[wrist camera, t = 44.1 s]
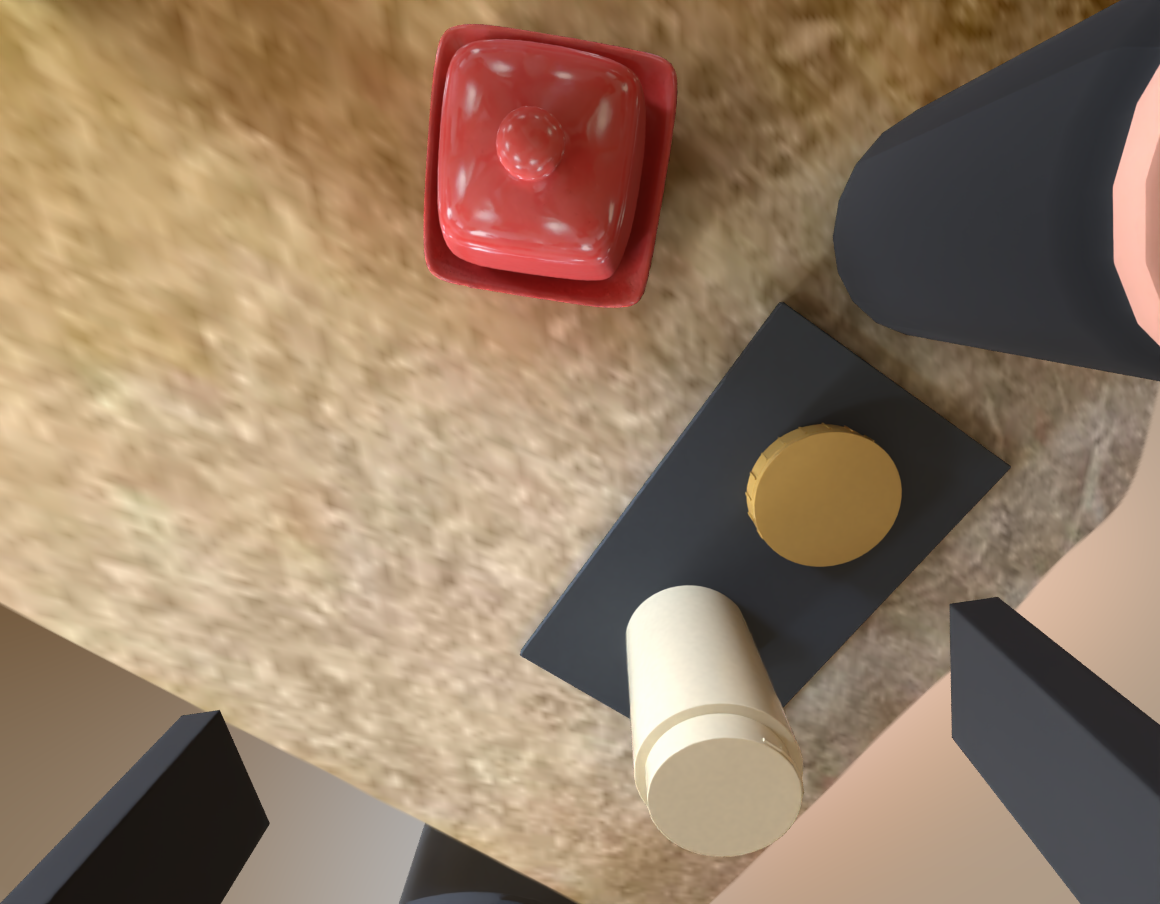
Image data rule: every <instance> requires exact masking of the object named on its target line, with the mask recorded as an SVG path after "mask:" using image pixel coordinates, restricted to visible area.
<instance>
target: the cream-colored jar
mask: <svg viewBox="0 0 1160 904" xmlns="http://www.w3.org/2000/svg"><path fill="white" fill-rule="evenodd" d="M625 643H626V659H627V675H628V691H629V706H630V722H631V738H632V754H633V769H634V779H635V784H636V787H637V791H638V793H639V795H640V797H641V799H642V800H643V802H644V803H645V805H646V806H647V807H648V810H649V813H650V816H651V818H652V820H653V822H654V824H655V825H656V827H657V828H658V830H659V831H660V832H661V833H662V834H663V835H664V836H665V837H666V838H667V839H669V840H670V841H671V842H673V843H674V844H676V845H677V846H679V847H681V848H683V849H685V850H687V851H690V852H693V853H696V854H701V855H705V856H712V857H733V856H740V855H745V854H749V853H752V852H755V851H758V850H760V849H763V848H765V847H767V846H769V845H770V844H772V843H774V842H775V841H777V840H778V839H779V838H780V837H782V836H783V835H784V834H785V833H786V832H787V831H788V830H789V829H790V827H791V826H792V825H793V823H794V822H795V820H796V818H797V816H798V814H799V811H800V808H801V803H802V797H803V794H804V789H803V782H802V775H803V759H802V754H801V750H800V748H799V745H798V743H797V740H796V738H795V736H794V733H793V731H792V728H791V726H790V724H789V721H788V719H787V717H786V714H785V712H784V709H783V707H782V705H781V702H780V700H779V698H778V695H777V693H776V690H775V688H774V686H773V683H772V681H771V679H770V676H769V674H768V671H767V669H766V667H765V664H764V662H763V660H762V657H761V655H760V652H759V650H758V648H757V645H756V643H755V641H754V638H753V636H752V633H751V631H750V629H749V626H748V624H747V622H746V619H745V617H744V615H743V613H742V612H741V610H740V609H739V608H738V606H737V605H736V604H735V603H734V602H733V601H732V600H731V599H729V598H728V597H726V596H725V595H723V594H721V593H719V592H718V591H715V590H712V589H710V588H706V587H702V586H694V585H684V586H676V587H672V588H668V589H665V590H662V591H660V592H658V593H656V594H654V595H652V596H651V597H649V598H648V599H647V600H645V601H644V602H643V603H642V604H641V605H640V606H639V607H638V608H637V609H636V611H635V612H634V614H633V615H632V617H631V619H630V621H629V623H628V626H627V630H626V639H625Z"/></svg>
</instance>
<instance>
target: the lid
mask: <svg viewBox="0 0 1160 904" xmlns="http://www.w3.org/2000/svg"><path fill="white" fill-rule="evenodd" d="M798 428H799V429H796V430H793V431H791V432H789V433H787V434H785V435H783V436H782V437H778V439H777V440H776V441H775V442H773V443H772V444H771V445H770V446H769V447H768V448H767V449H766V450H765V451H764V452H763V453H761V456H760V457H759V459H758V460H757V462H756V463H755V465H754V467H753V469H752V472H750V477H749V481H748V485H747V492H745V494H746V496H747V506H748V511H749V512H748V514H749V516H750V518H751V519H752V521H753V523H754V524H755V526H756V528H757V532H758V533H759V535H760V537H761V538H762V539H764V540H765V542H766V543H767V544H768V545H769V546H770V547H771V548H772V549H773V550H774V551H775V552H776V553H778V554H779V555H780V556H782V557H784V558H786V559H788V560H790V561H792V562H795V563H798V564H802V565H807V566H815V567H825V566H834V565H838V564H843V563H846V562H849V561H851V560H854V559H856V558H858V557H860V556H862V555H863V554H865V553H867V552H868V551H869V550H871V549H872V548H873V547H875V546H876V545H877V544H878V543H879V542H880V541H881V540H882V539H883V538H884V537H885V535H886V534H887V533H888V532H889V530H890V528H891V527H892V525H893V524H894V521H895V519H896V517H897V515H898V512H899V508H900V504H901V497H902V488H901V480H900V476H899V473H898V470H897V468H896V466H895V464H894V462H893V461H892V459H891V457H890V456H889V455H888V454H887V453H886V452H885V450H884V449H882V448H881V447H880V446H879V445H877V444H876V443H874V440H873V439H871V438H869V437H867V436H866V435H861V434H859V433H858V432H856V431H854V430H852V429H850V428H849V427H847V426H845V425H844V427H843V426H839V425H832V424H824V423H821V424H817V425H810V426H806V427H798Z"/></svg>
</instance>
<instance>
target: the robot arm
mask: <svg viewBox="0 0 1160 904" xmlns="http://www.w3.org/2000/svg"><path fill="white" fill-rule="evenodd" d="M950 655H951V712H952V738H953V740H954V741H955V742H956V743H957V745H958V746H959V747H960V749H961V750H962V751H963V752H964V754H965V755H966V756H967V758H968V759H969V760H970V761H971V763H972V764H973V765H974V767H975V768H976V769H977V770H978V772H979V773H980V774H981V776H982V777H983V778H984V779H985V781H986V782H987V783H988V785H989V786H990V787H991V789H992V790H993V791H994V793H995V794H996V795H997V796H998V798H999V799H1000V800H1001V802H1002V803H1003V804H1004V805H1005V807H1006V808H1007V809H1008V811H1009V812H1010V813H1011V814H1012V816H1013V817H1014V818H1015V820H1016V821H1017V822H1018V824H1019V825H1020V826H1021V827H1022V829H1023V830H1024V831H1025V832H1026V834H1027V835H1028V836H1029V838H1030V839H1031V840H1032V842H1033V843H1034V844H1035V845H1036V847H1037V848H1038V849H1039V851H1040V852H1041V853H1042V854H1043V856H1044V857H1045V858H1046V860H1047V861H1048V862H1049V864H1050V865H1051V866H1052V867H1053V869H1054V870H1055V871H1056V873H1057V874H1058V875H1059V876H1060V878H1061V879H1062V880H1063V882H1064V883H1065V884H1066V886H1067V887H1068V888H1069V889H1070V891H1071V892H1072V893H1073V894H1074V896H1075V897H1076V898H1077V900H1078V901H1079V902H1080V904H1160V725H1159V724H1158V723H1157V722H1155V721H1154V720H1153V719H1151V718H1150V717H1149V716H1148V715H1146V714H1145V713H1144V712H1142V711H1141V710H1140V709H1139V708H1138V707H1136V706H1135V705H1134V704H1132V703H1131V702H1130V701H1129V700H1128V699H1126V698H1125V697H1124V696H1122V695H1121V694H1120V693H1119V692H1117V691H1116V690H1115V689H1113V688H1112V687H1111V686H1110V685H1108V684H1107V683H1106V682H1105V681H1103V680H1102V679H1101V678H1099V677H1098V676H1097V675H1096V674H1095V673H1093V672H1092V671H1091V670H1089V669H1088V668H1087V667H1086V666H1084V665H1083V664H1082V663H1081V662H1079V661H1078V660H1077V659H1076V658H1074V657H1073V656H1072V655H1071V654H1069V653H1068V652H1067V651H1065V650H1064V649H1063V648H1062V647H1060V646H1059V645H1058V644H1057V643H1055V642H1054V641H1053V640H1051V639H1050V638H1049V637H1048V636H1046V635H1045V634H1044V633H1043V632H1041V631H1040V630H1039V629H1038V628H1036V627H1035V626H1034V625H1033V624H1031V623H1030V622H1029V621H1027V620H1026V619H1025V618H1024V617H1022V616H1021V615H1020V614H1019V613H1017V612H1016V611H1015V610H1014V609H1012V608H1011V607H1010V606H1008V605H1007V604H1006V603H1005V602H1003V601H1002V600H1001V599H1000V598H998V597H994V598H987V599H980V600H973V601H966V602H959V603H952V604H950ZM268 826H269V821H268V819H267V816H266V814H265V811H264V809H263V807H262V805H261V803H260V800H259V798H258V796H257V793H256V791H255V789H254V787H253V784H252V782H251V780H250V778H249V776H248V773H247V771H246V769H245V766H244V764H243V762H242V760H241V757H240V755H239V753H238V750H237V748H236V746H235V744H234V741H233V739H232V737H231V735H230V732H229V730H228V728H227V725H226V723H225V721H224V719H223V716H222V714H221V712H220V710H217V711H210V712H204V713H197V714H190V715H183V716H181V717H180V718H179V719H178V720H177V721H176V722H175V723H174V724H173V725H172V727H171V728H169V730H168V731H167V732H166V733H165V734H164V735H163V736H162V737H161V738H160V739H159V740H158V741H157V742H156V743H155V744H154V745H153V746H152V747H151V748H150V749H149V750H148V751H147V752H146V753H145V754H144V755H143V756H142V758H140V759H139V760H138V762H137V763H136V764H135V765H134V766H133V767H132V768H131V769H130V770H129V771H128V772H127V773H126V774H125V775H124V776H123V777H122V778H121V779H120V780H119V781H118V782H117V783H116V784H115V785H114V786H113V787H112V788H111V789H110V791H108V793H107V794H106V795H105V796H104V797H103V798H102V799H101V800H100V801H99V802H98V803H97V804H96V805H95V806H94V807H93V808H92V809H91V810H90V811H89V812H88V813H87V814H86V815H85V816H84V817H83V818H82V819H81V821H79V822H78V823H77V824H76V826H75V827H74V828H73V829H72V830H71V831H70V832H69V833H68V834H67V835H66V836H65V837H64V838H63V839H62V840H61V841H60V842H59V843H58V844H57V845H56V846H55V847H54V849H52V850H51V851H50V852H49V853H48V854H47V856H46V857H45V858H44V859H43V860H42V861H41V862H40V863H39V864H38V865H37V866H36V867H35V868H34V869H33V870H32V871H31V872H30V873H29V874H28V875H27V876H26V877H25V878H24V879H23V881H21V882H20V883H19V884H18V885H17V887H16V888H14V890H13V891H12V892H11V893H10V894H9V895H8V896H7V897H6V898H5V899H4V900H3V901H2V902H1V903H0V904H221V902H222V901H223V899H224V897H225V896H226V894H227V893H228V891H229V889H230V888H231V886H232V884H233V883H234V881H235V880H236V878H237V876H238V875H239V873H240V871H241V870H242V868H243V866H244V865H245V863H246V861H247V860H248V858H249V857H250V855H251V853H252V852H253V850H254V848H255V847H256V845H257V844H258V842H259V840H260V839H261V837H262V835H263V834H264V832H265V831H266V829H267V827H268Z"/></svg>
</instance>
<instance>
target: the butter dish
mask: <svg viewBox="0 0 1160 904" xmlns="http://www.w3.org/2000/svg"><path fill="white" fill-rule="evenodd" d="M676 104H677V76H676V72H675V70H674V68H673V66H672V64H671V63H670V62H668V61H667V60H666V59H664V58H662V57H660V56H657V55H654V54H651V53H646V52H641V51H635V50H632V49H629V48H624V47H617V46H614V45H607V44H602V43H597V42H591V41H586V40H579V39H575V38H569V37H563V36H557V35H550V34H544V33H538V32H532V31H527V30H520V29H512V28H508V27H501V26H492V25H483V24H464V25H457V26H454V27H451V28H449V29H447V30H446V31H445V33H444V34H443V35H442V37H441V39H440V41H439V45H438V49H437V53H436V61H435V66H434V72H433V84H432V92H431V105H430V119H429V131H428V146H427V159H426V180H425V200H424V254H425V260H426V265H427V266H428V269H429V271H430V272H431V273H432V274H433V275H434V276H436V277H437V278H439V279H441V280H443V281H446V282H449V283H454V284H458V285H465V286H468V287H470V288H477V289H485V290H489V291H495V292H503V293H508V294H513V295H520V296H526V297H532V298H538V299H545V300H553V301H560V302H566V303H572V304H579V305H585V306H595V307H605V308H606V307H614V308H615V307H628V306H632V305H633V304H636V303H637V302H638V301H639V300H640V299H641V297H642V295H643V294H644V291H645V288H646V284H647V280H648V276H649V271H650V268H651V261H652V257H653V251H654V246H655V240H656V233H657V229H658V222H659V216H660V210H661V205H662V199H663V193H664V188H665V180H666V175H667V168H668V162H669V157H670V150H671V142H672V135H673V128H674V121H675V114H676Z"/></svg>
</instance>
